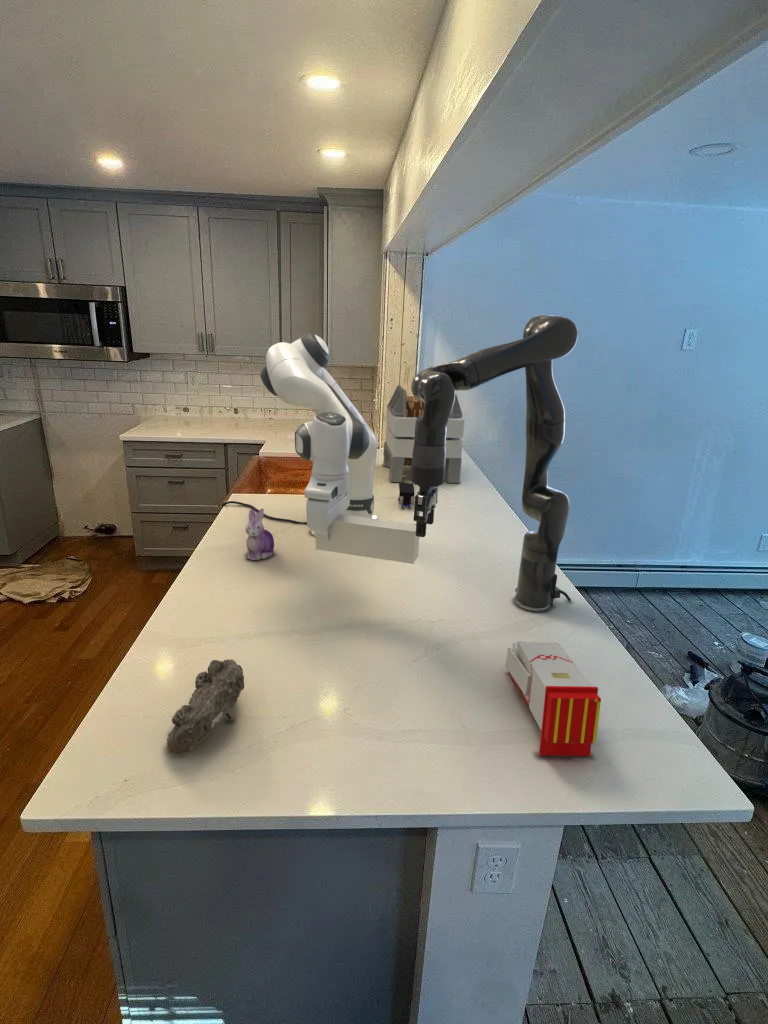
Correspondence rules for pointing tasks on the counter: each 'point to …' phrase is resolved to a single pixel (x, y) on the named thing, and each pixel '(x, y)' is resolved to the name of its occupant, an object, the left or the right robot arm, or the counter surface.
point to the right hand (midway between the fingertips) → (424, 529)
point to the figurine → (258, 537)
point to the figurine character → (406, 494)
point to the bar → (371, 538)
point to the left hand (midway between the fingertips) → (329, 536)
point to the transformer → (402, 436)
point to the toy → (556, 697)
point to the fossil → (206, 705)
